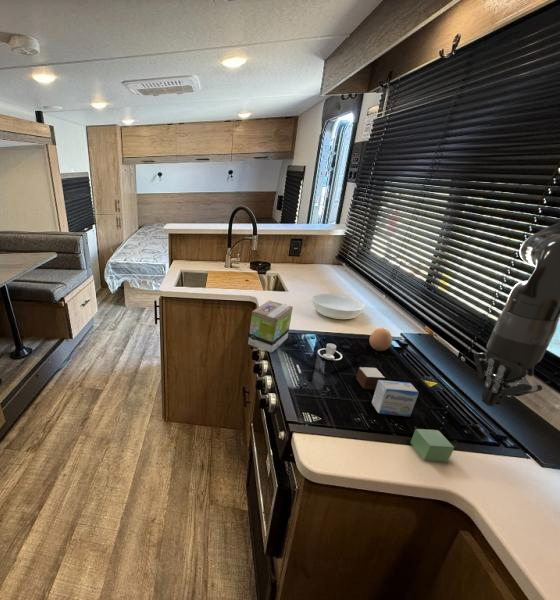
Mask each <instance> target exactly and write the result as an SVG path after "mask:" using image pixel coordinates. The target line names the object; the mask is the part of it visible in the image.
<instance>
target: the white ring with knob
mask: <svg viewBox="0 0 560 600" xmlns="http://www.w3.org/2000/svg"><path fill="white" fill-rule="evenodd" d="M322 350H325V353H323V354H321V352H320V351H322ZM335 353H337V354H338V355H339V356H340V357H339V358H336V359H335V356H334V354H335ZM317 354H318V355H319V356H320V357H322V358H323V359H325V360H327V361H340V360H342V359H343V354H342V353H341V352H339V351H338V350H337V345H336V344H335V343H332V342H331V343H330V342H329V343H327V344H326V345H325V348H323V347H322V348H320V349H318V350H317Z"/></svg>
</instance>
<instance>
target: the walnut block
mask: <svg viewBox="0 0 560 600" xmlns="http://www.w3.org/2000/svg"><path fill="white" fill-rule="evenodd" d="M385 379H386V377H385V376H384V375H383V373H381V371H379V369H378V368H377V367H364V366H363V367H362V366H359V367H358V369H357V373H356V377H355V380H356V381H357V382H358V383H359V385H360V386H361V388H362V389H363V390H376V386H377V383H378V380H384V381H385Z"/></svg>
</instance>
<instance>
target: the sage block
mask: <svg viewBox="0 0 560 600" xmlns="http://www.w3.org/2000/svg"><path fill="white" fill-rule="evenodd" d="M409 443H410V444H411V446H412V447H413V448H414V449H415V451H416V452H417V453H418V454H419V456H420V457H421V459H422V460H423V461H429V462H430V461H431V462H432V461H433V462H443V463H448V462H449V460H450V458H451V456H452V454H453V452H454V449H455V446H454V445H453V444H452V443H451V442H450V441H449V440H448V439H447V438H446V437H445V436H444V435H443V433H442V432H441V431H440V430H438V429H424V428H415V429H414V432H413V434H412V438H411V440H410V442H409Z"/></svg>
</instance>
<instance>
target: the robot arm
mask: <svg viewBox="0 0 560 600" xmlns="http://www.w3.org/2000/svg"><path fill="white" fill-rule="evenodd" d="M519 257H520V258H521V259H522V261H524V263H525V264H527V265H530V266H532V267H534V268H535V269H534V270H533V272H532V273H531V276H530V277H529V278H528V280H524V281H519V282H518V283H516V284H515V285H513V288H512V289H511V291H510V293H509V295H508V297H507V300H506V302H505V305H504V307H503V309H502V311H501V312H500V314H499V315H498V318H497V320H496V322H495V324H494V327H493V329H492V331H491V333H490V336H489V339H488V341H487V343H486V349H487V350H486V351H485V352H474V353H473V359H474V363H475V368H476V372H477V376H478V379H479V380H480V381H482V382H483V383H484V387H485V388H484V390H483V392H482V396H481V398H482V399H481V402H483V404H485V405H486V406H488V407H500V406H501V405H502V403H503V401H504V399H505V397H520V396H525V395H529V394H533V393H537V392H541V391H542V390H543V386H542V385H541V384H538V383H535V381H534V380H533V375H534V374H535V370H534V367H535V366H536V365H538V363H540V362H542V359H543V358H544V356H545V353H546V351H547V350H548V347H549V345H550V343H551V342H552V339H553V337H554V335H555V333H556V332H557V331H556V330H557V328H558V325H559V320H560V221H559V222H557V223H555V224H554V223H553V224H551V225H549V226H547V227H545V228H542V229H540V230H539V231H537V232H535V233H533V234H532V235H530V236H529V237H528V238H527V239H526V240H524V241H523V243H522V244H521V246H520V248H519Z"/></svg>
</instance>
